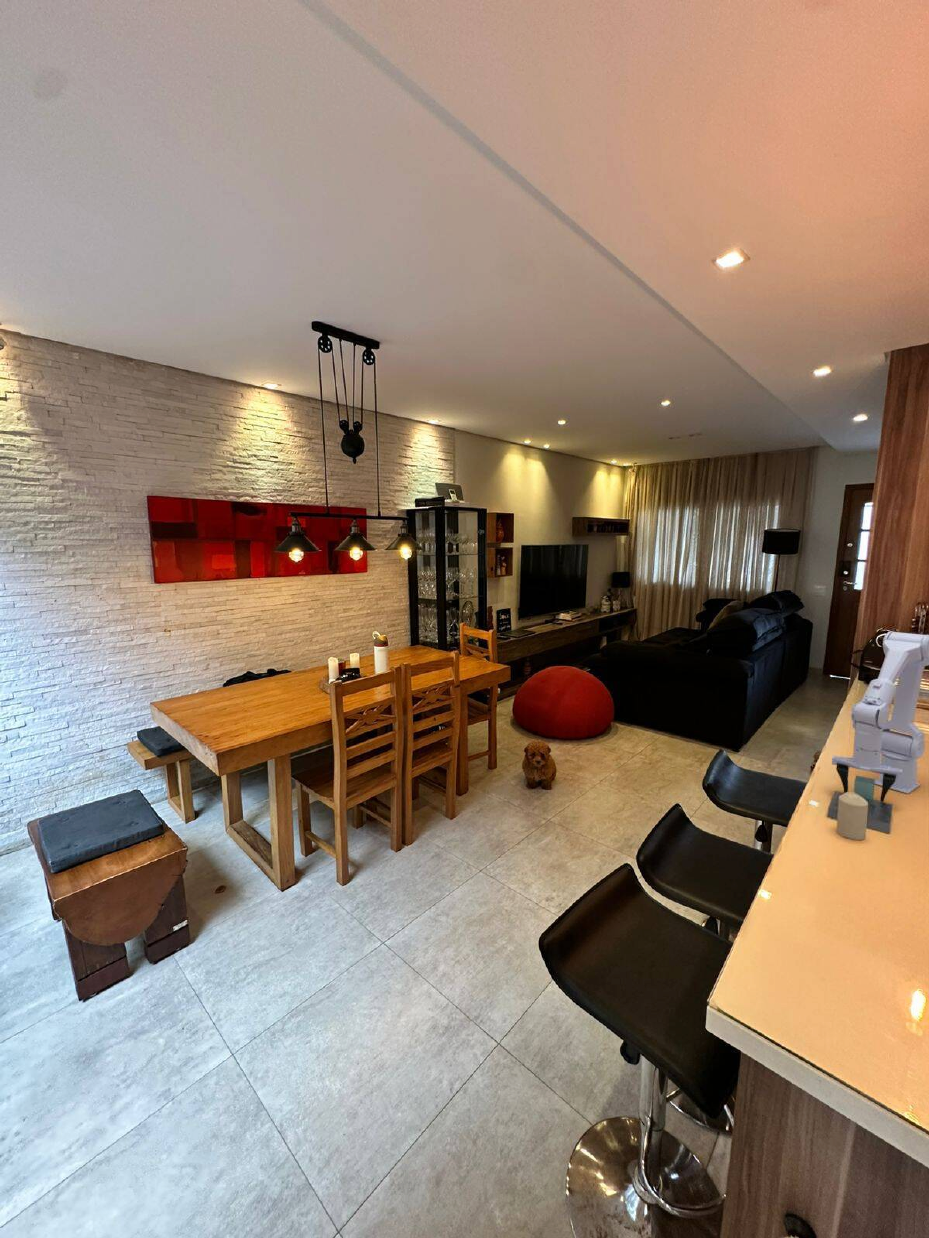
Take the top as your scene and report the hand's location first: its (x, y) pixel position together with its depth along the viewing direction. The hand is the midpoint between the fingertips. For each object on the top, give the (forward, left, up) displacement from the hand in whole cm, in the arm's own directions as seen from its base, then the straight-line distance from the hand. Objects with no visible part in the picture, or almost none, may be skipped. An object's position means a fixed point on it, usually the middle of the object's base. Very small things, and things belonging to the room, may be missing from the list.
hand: (863, 795), depth 135 cm
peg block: (0, 0, -2) cm, 2 cm away
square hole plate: (+10, +3, -1) cm, 10 cm away
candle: (+21, +5, -2) cm, 22 cm away
